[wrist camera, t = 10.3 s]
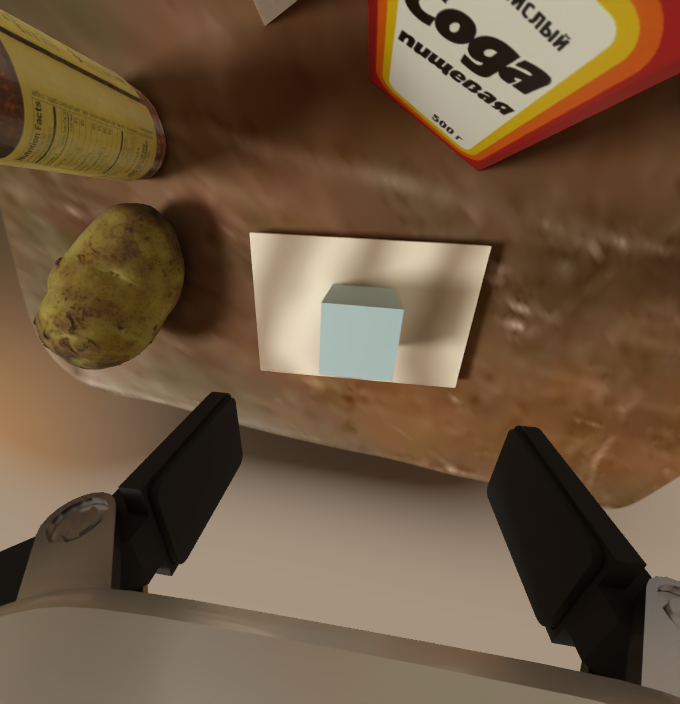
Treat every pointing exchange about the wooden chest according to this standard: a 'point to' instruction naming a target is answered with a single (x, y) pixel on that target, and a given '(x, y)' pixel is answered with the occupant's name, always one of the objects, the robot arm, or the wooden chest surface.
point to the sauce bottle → (71, 111)
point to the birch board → (373, 271)
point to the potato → (112, 288)
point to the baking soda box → (517, 64)
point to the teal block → (360, 332)
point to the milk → (271, 8)
